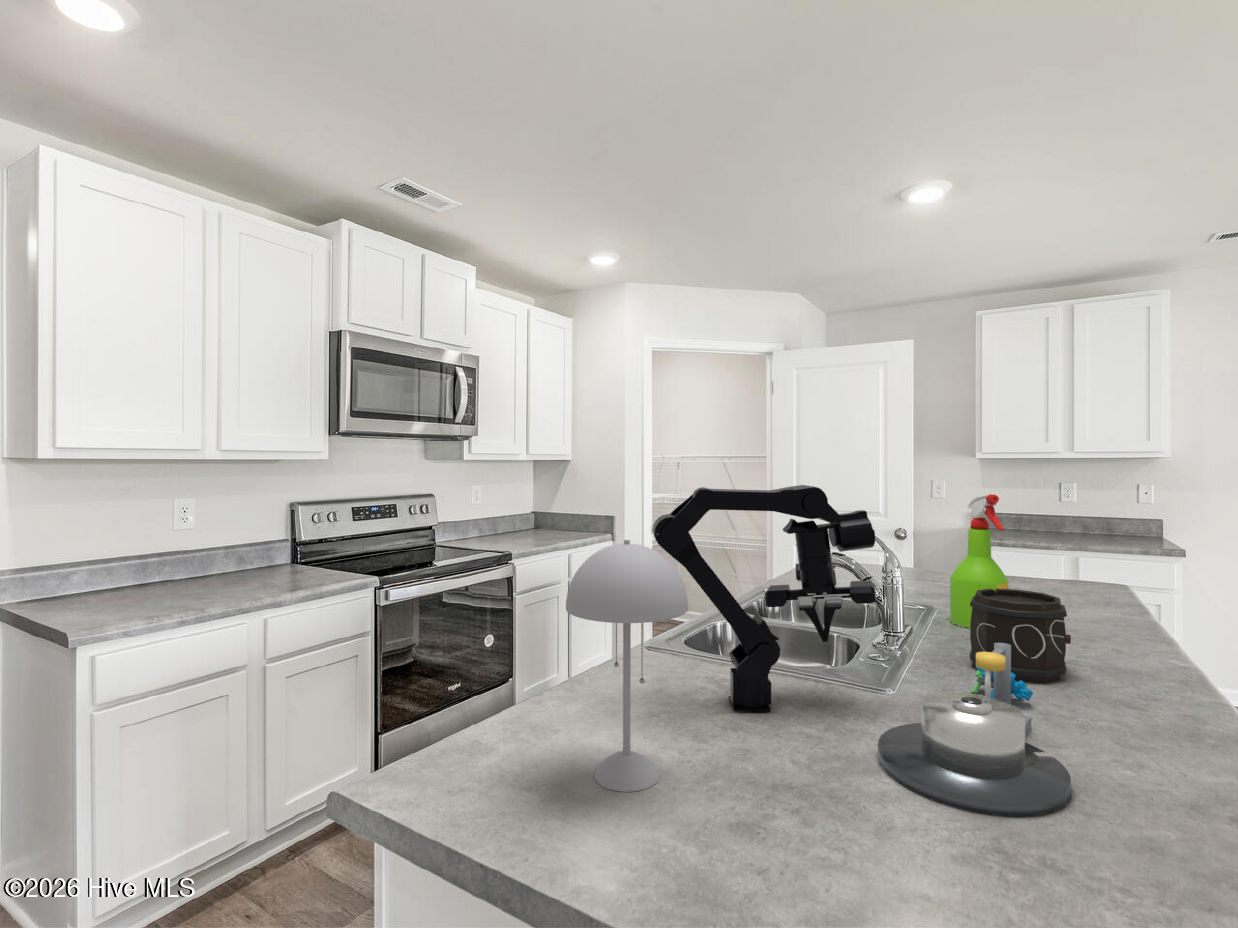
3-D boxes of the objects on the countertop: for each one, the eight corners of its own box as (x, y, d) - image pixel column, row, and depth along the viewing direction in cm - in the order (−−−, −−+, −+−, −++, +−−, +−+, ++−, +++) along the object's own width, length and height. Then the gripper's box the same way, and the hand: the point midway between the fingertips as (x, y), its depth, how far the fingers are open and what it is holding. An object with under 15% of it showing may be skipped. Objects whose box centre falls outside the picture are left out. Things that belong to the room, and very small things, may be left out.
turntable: (921, 815, 82) (922, 796, 82) (854, 734, 106) (855, 719, 106) (1116, 817, 82) (1116, 797, 82) (1004, 735, 106) (1005, 720, 106)
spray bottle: (975, 635, 165) (976, 495, 164) (940, 617, 183) (941, 491, 182) (1030, 635, 165) (1031, 495, 164) (990, 618, 183) (991, 491, 182)
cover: (946, 778, 88) (946, 717, 87) (906, 737, 101) (906, 683, 100) (1045, 780, 87) (1046, 718, 87) (992, 738, 100) (992, 684, 100)
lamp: (572, 747, 101) (572, 532, 101) (683, 749, 101) (684, 533, 100) (558, 806, 84) (558, 548, 84) (692, 808, 84) (693, 549, 83)
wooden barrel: (1073, 692, 125) (1073, 609, 125) (966, 675, 135) (967, 598, 135) (1068, 666, 141) (1069, 593, 141) (973, 653, 150) (973, 584, 150)
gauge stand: (983, 717, 113) (984, 636, 113) (1031, 729, 108) (1031, 644, 108) (961, 742, 103) (962, 653, 103) (1012, 755, 99) (1013, 662, 99)
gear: (1047, 700, 117) (1008, 661, 116) (1028, 726, 116) (989, 687, 115) (1000, 687, 128) (964, 651, 127) (983, 711, 126) (947, 675, 126)
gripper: (869, 543, 122) (880, 626, 122) (768, 550, 129) (778, 629, 129) (869, 554, 112) (881, 645, 112) (759, 561, 119) (770, 647, 119)
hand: (825, 641), depth 118 cm, fingers closed
